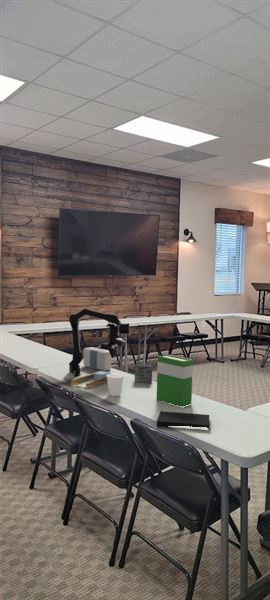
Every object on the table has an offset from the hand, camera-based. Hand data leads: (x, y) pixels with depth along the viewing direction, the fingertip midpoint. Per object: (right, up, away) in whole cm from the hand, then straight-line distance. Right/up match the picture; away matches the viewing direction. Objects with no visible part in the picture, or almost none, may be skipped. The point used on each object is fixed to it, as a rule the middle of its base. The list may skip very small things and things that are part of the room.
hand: (112, 357), depth 286 cm
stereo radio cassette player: (-12, -10, +21) cm, 27 cm away
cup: (+3, -16, -40) cm, 43 cm away
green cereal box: (+35, -17, -51) cm, 64 cm away
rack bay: (-12, -13, -15) cm, 23 cm away
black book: (+37, -20, -81) cm, 91 cm away
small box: (+19, -14, -11) cm, 26 cm away
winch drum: (-25, -13, -16) cm, 32 cm away
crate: (-7, -13, -8) cm, 16 cm away
